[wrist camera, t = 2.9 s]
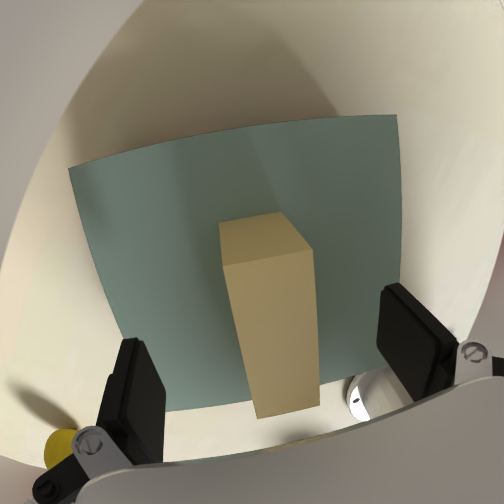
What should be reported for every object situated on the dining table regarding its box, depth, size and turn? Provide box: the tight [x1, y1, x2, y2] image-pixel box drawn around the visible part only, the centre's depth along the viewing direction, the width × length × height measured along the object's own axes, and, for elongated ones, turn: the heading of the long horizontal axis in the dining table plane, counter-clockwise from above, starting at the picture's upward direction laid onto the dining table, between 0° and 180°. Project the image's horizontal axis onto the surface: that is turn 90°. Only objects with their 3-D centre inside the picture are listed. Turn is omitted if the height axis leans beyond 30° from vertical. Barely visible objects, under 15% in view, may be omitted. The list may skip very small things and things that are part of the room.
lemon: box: [44, 429, 78, 470], centre depth 25 cm, size 6×6×8 cm
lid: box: [68, 115, 402, 419], centre depth 15 cm, size 16×16×6 cm
